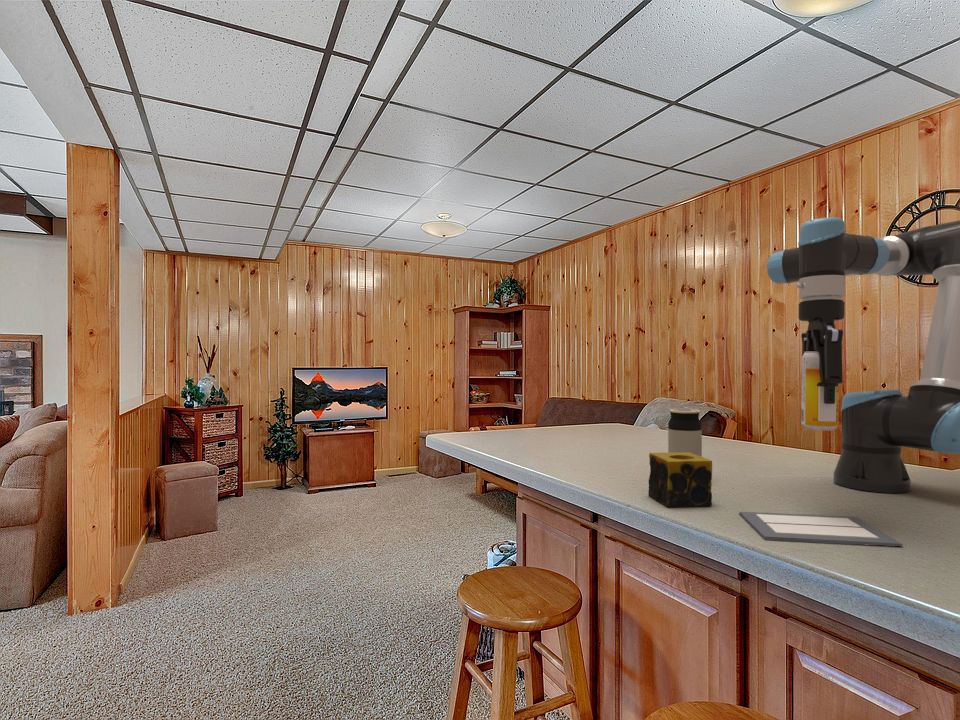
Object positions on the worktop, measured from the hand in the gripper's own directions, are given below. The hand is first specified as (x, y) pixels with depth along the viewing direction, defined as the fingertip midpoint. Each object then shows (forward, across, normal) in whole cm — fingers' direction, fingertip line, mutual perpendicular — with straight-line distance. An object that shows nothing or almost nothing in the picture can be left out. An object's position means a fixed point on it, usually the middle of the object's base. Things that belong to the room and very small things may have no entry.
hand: (820, 419), depth 103 cm
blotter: (+19, +7, -4) cm, 21 cm away
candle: (+20, -8, -25) cm, 33 cm away
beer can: (+2, 0, 0) cm, 2 cm away
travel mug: (+20, -29, -21) cm, 41 cm away
